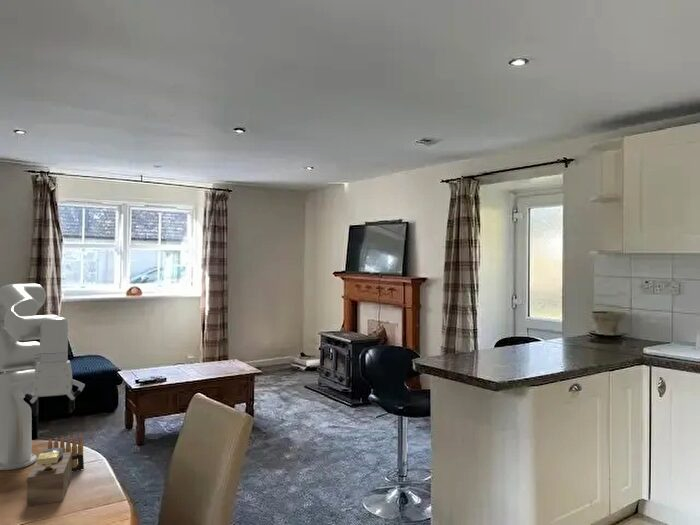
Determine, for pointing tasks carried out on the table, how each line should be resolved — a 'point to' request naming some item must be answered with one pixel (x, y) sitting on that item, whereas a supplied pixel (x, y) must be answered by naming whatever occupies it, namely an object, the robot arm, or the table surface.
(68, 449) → the ammunition clip
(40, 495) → the block
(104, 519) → the table surface
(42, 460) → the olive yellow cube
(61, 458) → the pin
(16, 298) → the robot arm
